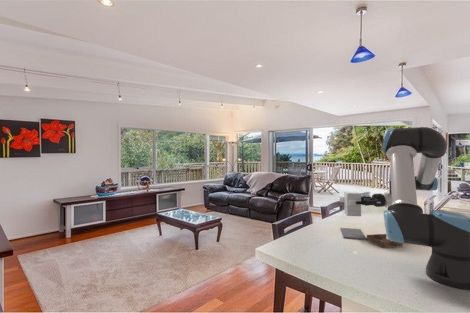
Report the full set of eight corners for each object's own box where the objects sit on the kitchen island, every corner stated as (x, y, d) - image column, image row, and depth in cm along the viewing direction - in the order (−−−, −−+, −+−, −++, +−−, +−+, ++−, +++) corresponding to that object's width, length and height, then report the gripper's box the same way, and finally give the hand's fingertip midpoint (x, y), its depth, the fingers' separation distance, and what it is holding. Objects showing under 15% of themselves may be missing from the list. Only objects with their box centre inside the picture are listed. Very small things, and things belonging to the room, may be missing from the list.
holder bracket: (385, 238, 135) (385, 233, 135) (402, 246, 124) (402, 241, 124) (366, 239, 134) (366, 234, 134) (382, 247, 122) (382, 242, 122)
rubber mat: (366, 240, 133) (366, 238, 133) (343, 238, 136) (343, 236, 136) (360, 230, 150) (360, 229, 150) (340, 229, 154) (340, 227, 154)
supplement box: (361, 216, 139) (361, 193, 139) (346, 216, 141) (346, 193, 141) (357, 213, 146) (357, 191, 146) (344, 213, 148) (343, 191, 148)
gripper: (395, 210, 135) (356, 212, 132) (369, 203, 157) (334, 204, 154) (395, 196, 135) (356, 197, 132) (369, 190, 157) (334, 191, 154)
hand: (344, 201), depth 143 cm, fingers closed on supplement box, 9 cm apart
